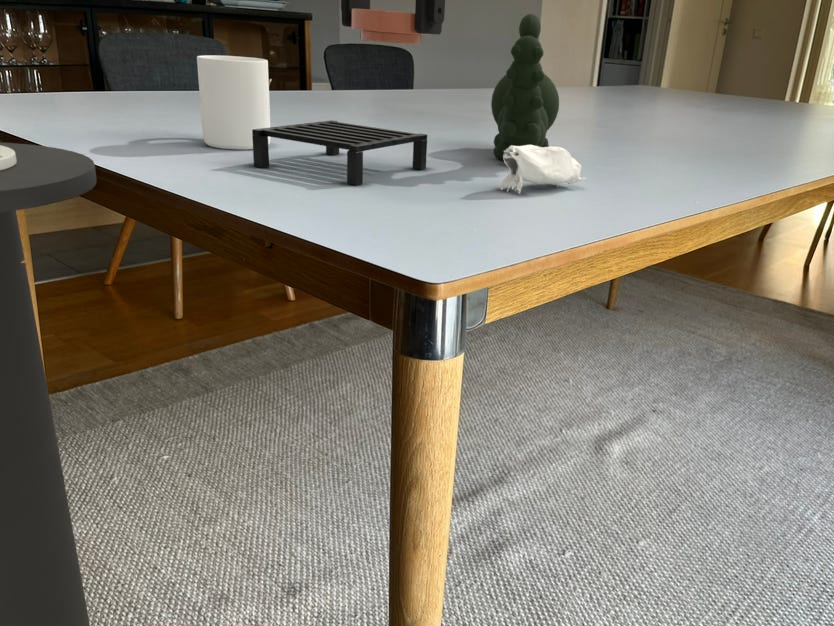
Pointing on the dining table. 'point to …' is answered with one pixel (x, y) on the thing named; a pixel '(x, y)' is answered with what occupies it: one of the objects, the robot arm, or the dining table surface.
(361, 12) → the terracotta round box
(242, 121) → the mug
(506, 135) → the toy figurine
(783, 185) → the dining table surface
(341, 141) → the rack
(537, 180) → the white lumpy oblong piece
